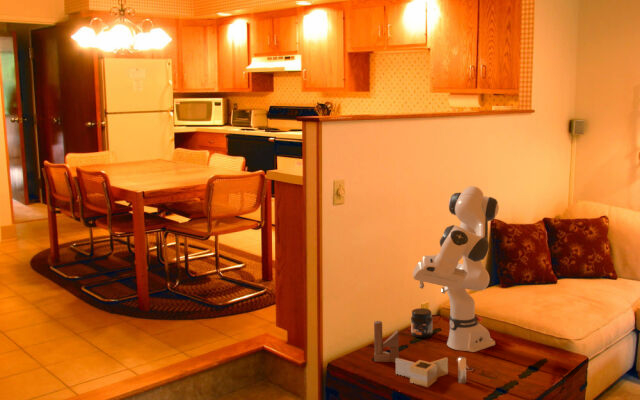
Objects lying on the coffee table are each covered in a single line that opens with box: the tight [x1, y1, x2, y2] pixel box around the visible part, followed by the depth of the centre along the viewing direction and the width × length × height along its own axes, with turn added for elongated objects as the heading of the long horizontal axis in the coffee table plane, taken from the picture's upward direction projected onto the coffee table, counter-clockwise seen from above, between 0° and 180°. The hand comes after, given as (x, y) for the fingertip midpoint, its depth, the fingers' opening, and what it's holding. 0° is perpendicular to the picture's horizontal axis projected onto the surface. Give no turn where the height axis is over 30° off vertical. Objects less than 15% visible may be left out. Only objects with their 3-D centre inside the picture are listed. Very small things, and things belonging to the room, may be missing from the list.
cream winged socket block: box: [394, 356, 449, 388], centre depth 262 cm, size 18×16×7 cm
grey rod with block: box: [373, 320, 400, 363], centre depth 277 cm, size 4×11×18 cm, turn 81°
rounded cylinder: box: [457, 356, 467, 384], centre depth 254 cm, size 3×3×10 cm
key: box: [455, 357, 475, 372], centre depth 272 cm, size 6×1×15 cm
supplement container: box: [410, 307, 433, 339], centre depth 306 cm, size 10×10×12 cm
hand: (431, 289), depth 254 cm, fingers open, 8 cm apart
